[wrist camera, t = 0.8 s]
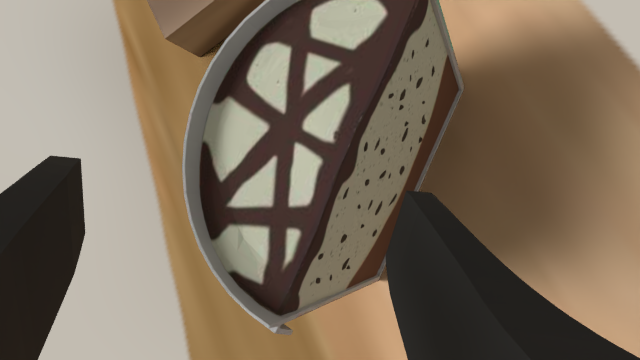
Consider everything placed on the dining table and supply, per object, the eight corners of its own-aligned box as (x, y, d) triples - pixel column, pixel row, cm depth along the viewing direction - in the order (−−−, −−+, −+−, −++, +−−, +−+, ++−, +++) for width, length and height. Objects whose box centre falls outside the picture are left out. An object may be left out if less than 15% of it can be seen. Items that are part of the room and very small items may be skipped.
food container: (357, 16, 28) (258, -98, 19) (478, 55, 26) (434, -53, 16) (256, 251, 29) (113, 252, 19) (365, 310, 26) (261, 344, 17)
